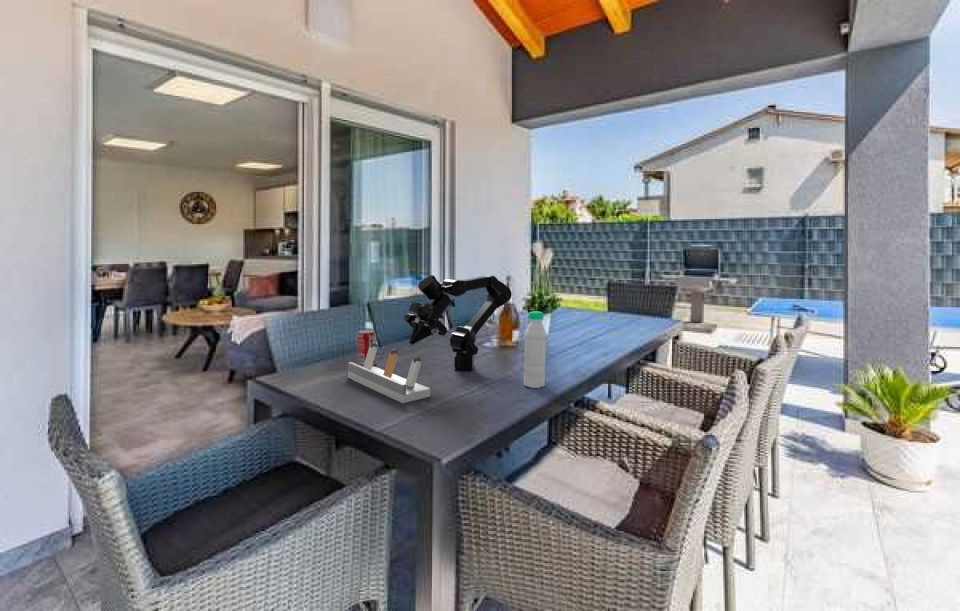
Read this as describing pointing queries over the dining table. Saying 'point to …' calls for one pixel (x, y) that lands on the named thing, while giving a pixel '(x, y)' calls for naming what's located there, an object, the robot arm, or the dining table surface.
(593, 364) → the dining table surface
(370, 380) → the switch panel
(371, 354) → the cream lever
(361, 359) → the soda can
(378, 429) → the dining table surface
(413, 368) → the cream lever
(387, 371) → the lever orange
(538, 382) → the water bottle
